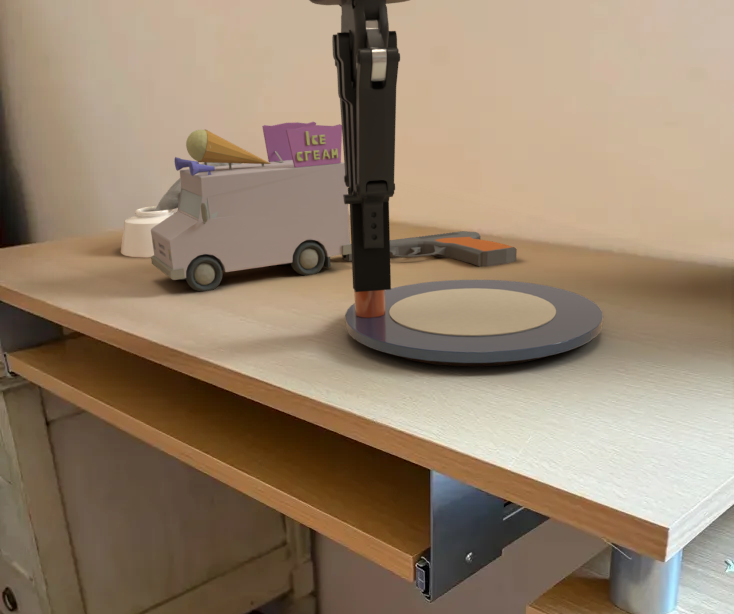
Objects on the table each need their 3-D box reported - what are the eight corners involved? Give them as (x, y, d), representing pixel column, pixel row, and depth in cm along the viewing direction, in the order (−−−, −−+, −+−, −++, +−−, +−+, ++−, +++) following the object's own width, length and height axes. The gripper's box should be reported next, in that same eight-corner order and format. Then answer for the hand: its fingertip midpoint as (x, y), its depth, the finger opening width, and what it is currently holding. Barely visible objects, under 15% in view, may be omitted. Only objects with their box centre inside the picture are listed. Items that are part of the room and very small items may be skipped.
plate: (633, 359, 56) (641, 274, 54) (338, 367, 57) (333, 284, 55) (573, 284, 74) (576, 219, 72) (351, 291, 75) (348, 227, 73)
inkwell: (108, 251, 102) (95, 168, 98) (235, 230, 112) (228, 153, 108) (140, 263, 95) (128, 173, 91) (272, 239, 105) (266, 157, 102)
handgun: (384, 282, 82) (341, 260, 93) (521, 263, 88) (466, 244, 98) (384, 265, 82) (340, 244, 92) (521, 246, 87) (466, 229, 97)
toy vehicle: (152, 281, 87) (131, 131, 81) (322, 256, 95) (313, 118, 89) (176, 300, 79) (154, 136, 73) (358, 272, 87) (352, 122, 81)
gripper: (296, -50, 60) (314, 273, 68) (311, -82, 48) (332, 314, 57) (398, -52, 61) (404, 267, 69) (439, -84, 49) (439, 306, 57)
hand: (371, 288), depth 63 cm, fingers closed
